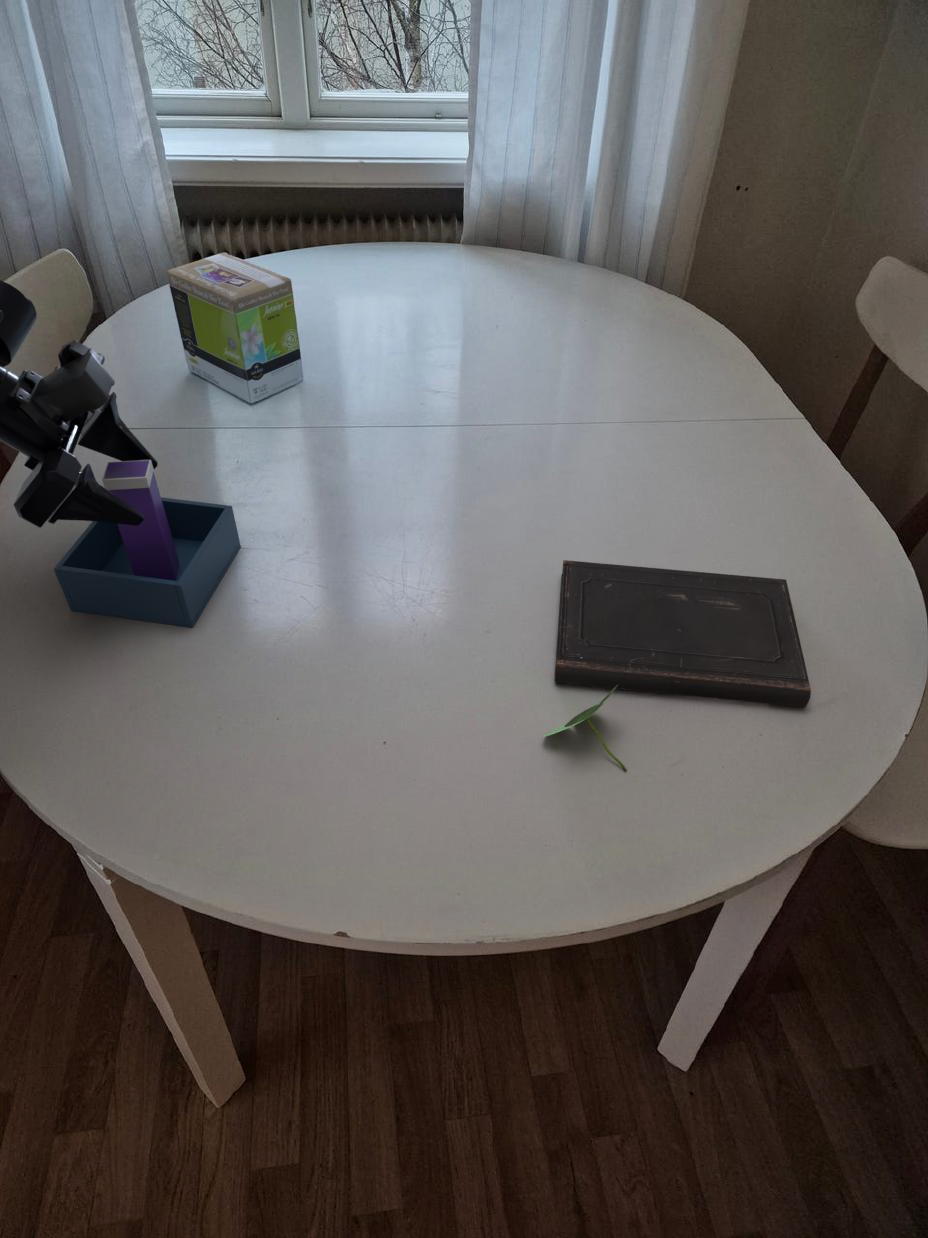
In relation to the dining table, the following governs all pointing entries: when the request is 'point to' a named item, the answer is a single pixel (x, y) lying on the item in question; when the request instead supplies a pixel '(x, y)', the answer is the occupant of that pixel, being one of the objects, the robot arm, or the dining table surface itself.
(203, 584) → the open blue box
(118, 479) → the purple white-banded prism
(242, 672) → the dining table surface
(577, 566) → the hardcover book
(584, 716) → the seedling
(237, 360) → the tea box
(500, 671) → the dining table surface
